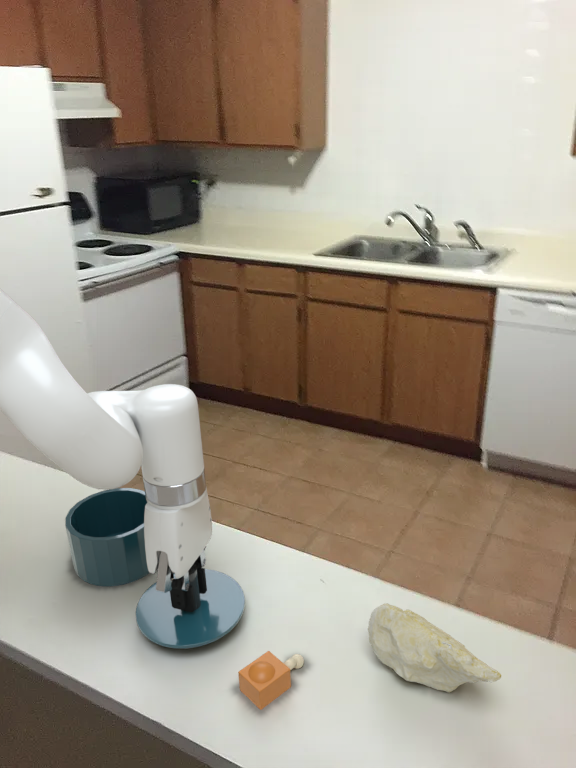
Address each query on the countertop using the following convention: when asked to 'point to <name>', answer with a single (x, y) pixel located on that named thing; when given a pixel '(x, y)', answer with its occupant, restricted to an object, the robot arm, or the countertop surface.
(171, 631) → the lid
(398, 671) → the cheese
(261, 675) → the orange knobbed cube
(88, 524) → the pot
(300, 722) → the countertop surface
